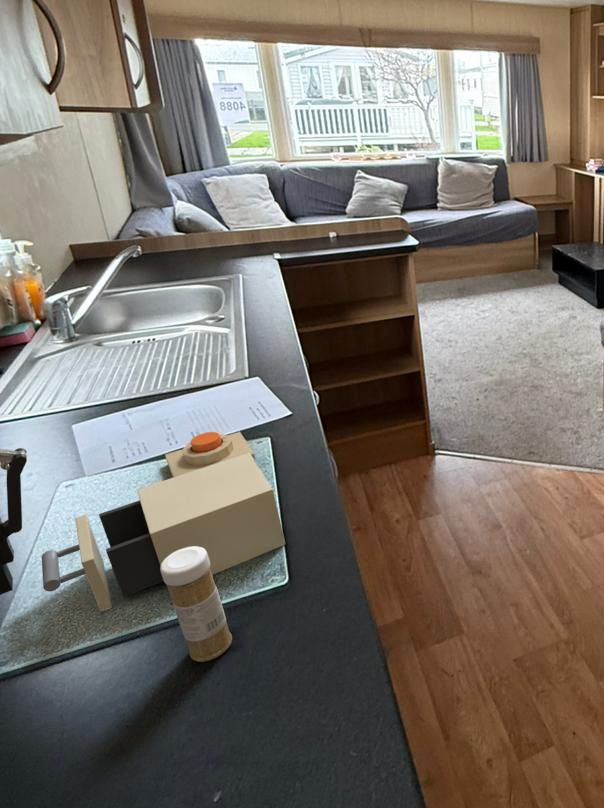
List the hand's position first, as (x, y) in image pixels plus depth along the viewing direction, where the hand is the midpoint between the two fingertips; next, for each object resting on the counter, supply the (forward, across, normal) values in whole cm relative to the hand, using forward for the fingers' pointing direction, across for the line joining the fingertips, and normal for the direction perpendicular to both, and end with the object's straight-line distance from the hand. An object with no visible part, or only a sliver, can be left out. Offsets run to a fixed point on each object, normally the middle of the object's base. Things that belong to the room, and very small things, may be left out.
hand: (4, 586), depth 79 cm
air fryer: (+6, +22, 0) cm, 23 cm away
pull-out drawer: (+5, +12, 0) cm, 13 cm away
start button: (+2, +26, +25) cm, 36 cm away
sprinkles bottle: (+6, +18, -20) cm, 27 cm away
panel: (+6, +26, +25) cm, 36 cm away
